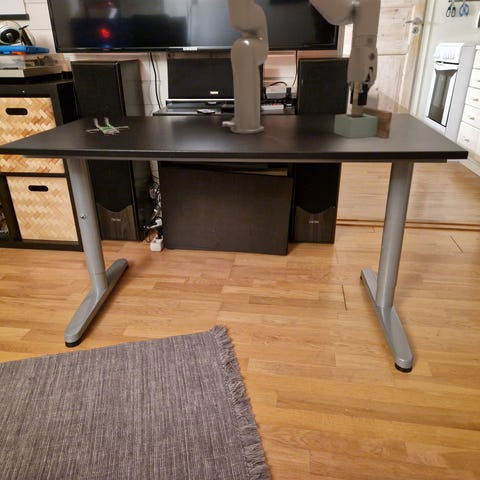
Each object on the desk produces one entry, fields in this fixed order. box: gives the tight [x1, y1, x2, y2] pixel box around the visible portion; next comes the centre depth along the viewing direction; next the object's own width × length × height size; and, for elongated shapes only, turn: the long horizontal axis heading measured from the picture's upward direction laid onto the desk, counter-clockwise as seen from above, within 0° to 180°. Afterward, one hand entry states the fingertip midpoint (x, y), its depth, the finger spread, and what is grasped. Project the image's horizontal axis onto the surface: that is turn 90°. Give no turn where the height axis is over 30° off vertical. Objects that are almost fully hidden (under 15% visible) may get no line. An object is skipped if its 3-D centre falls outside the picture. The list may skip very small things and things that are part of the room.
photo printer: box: [350, 89, 380, 114], centre depth 160 cm, size 10×4×12 cm, turn 60°
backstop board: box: [363, 107, 393, 139], centre depth 135 cm, size 20×18×9 cm
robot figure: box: [85, 117, 130, 135], centre depth 160 cm, size 16×3×22 cm
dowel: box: [351, 80, 366, 118], centre depth 132 cm, size 4×4×12 cm
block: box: [333, 113, 378, 139], centre depth 136 cm, size 10×10×6 cm
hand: (358, 104), depth 133 cm, fingers closed on dowel, 3 cm apart
